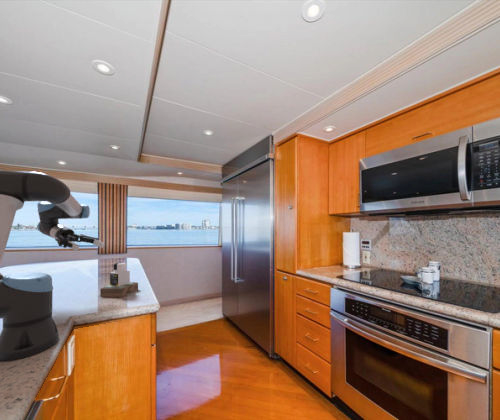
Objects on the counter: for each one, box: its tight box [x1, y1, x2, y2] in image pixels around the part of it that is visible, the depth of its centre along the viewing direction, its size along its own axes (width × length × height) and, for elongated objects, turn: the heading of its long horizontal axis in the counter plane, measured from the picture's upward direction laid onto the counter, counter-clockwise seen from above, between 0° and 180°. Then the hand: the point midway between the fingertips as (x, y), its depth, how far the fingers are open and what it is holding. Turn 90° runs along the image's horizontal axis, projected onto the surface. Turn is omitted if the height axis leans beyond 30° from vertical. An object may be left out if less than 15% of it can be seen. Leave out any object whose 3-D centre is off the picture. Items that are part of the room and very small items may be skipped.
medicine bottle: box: [109, 261, 131, 287], centre depth 131 cm, size 7×7×12 cm
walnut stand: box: [100, 281, 139, 298], centre depth 131 cm, size 13×13×4 cm
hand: (91, 246), depth 119 cm, fingers open, 13 cm apart
